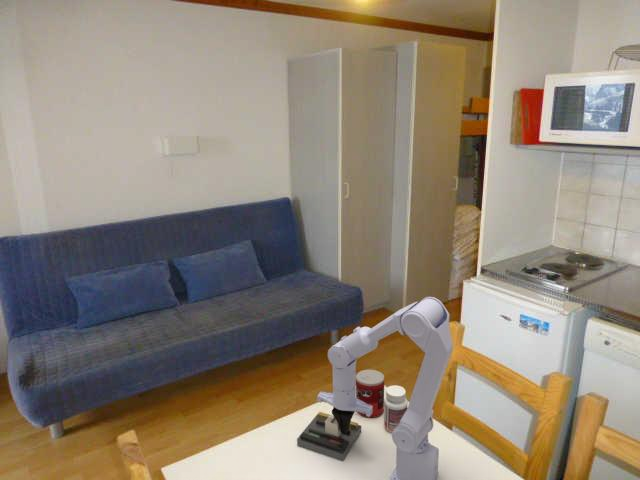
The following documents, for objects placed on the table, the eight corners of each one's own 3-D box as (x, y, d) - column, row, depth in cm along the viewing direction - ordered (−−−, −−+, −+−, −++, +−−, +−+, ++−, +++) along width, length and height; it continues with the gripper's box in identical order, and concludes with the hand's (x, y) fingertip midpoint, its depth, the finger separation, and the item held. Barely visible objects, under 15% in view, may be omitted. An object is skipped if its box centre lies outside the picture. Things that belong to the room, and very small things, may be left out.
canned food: (352, 405, 138) (351, 372, 135) (377, 399, 140) (377, 367, 137) (362, 421, 131) (362, 386, 128) (388, 415, 133) (388, 380, 130)
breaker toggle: (342, 432, 123) (342, 418, 122) (337, 438, 121) (337, 424, 120) (330, 428, 125) (329, 414, 124) (325, 434, 123) (324, 420, 122)
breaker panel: (361, 432, 126) (361, 422, 126) (342, 461, 116) (342, 451, 115) (318, 419, 132) (318, 409, 131) (297, 445, 122) (296, 435, 121)
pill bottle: (411, 428, 127) (412, 392, 124) (394, 437, 124) (395, 400, 121) (396, 417, 132) (396, 381, 129) (379, 425, 129) (379, 389, 126)
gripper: (377, 384, 118) (376, 430, 121) (325, 370, 124) (326, 415, 128) (366, 399, 112) (366, 447, 115) (313, 384, 118) (314, 430, 122)
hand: (344, 431), depth 121 cm, fingers closed
